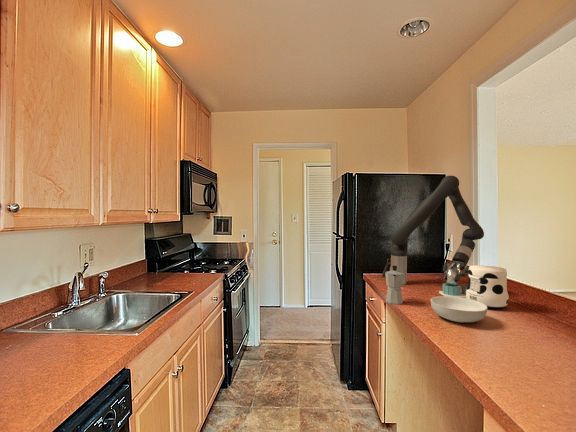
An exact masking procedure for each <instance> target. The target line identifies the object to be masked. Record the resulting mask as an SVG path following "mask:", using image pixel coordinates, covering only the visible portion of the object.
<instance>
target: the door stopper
mask: <svg viewBox="0 0 576 432" xmlns="http://www.w3.org/2000/svg"><path fill="white" fill-rule="evenodd" d="M388 266H390V267H391V258H387V259H386V265H385V267H384V269H383V272H382V274H381V278H386V275H385V272H388Z"/></svg>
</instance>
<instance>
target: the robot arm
mask: <svg viewBox="0 0 576 432" xmlns="http://www.w3.org/2000/svg"><path fill="white" fill-rule="evenodd" d="M459 187H460V180H459V178H458V177H457V176H455V175H447V176H445V177H443V178H442V179H441V181H440V183H439V184H438V186H437V187H436V188H435V190H434V191H433V192H431V194H429V195H428V196H427V197H425V198H424V199H423V200H422V201H421V202H420V203H419V204H418V205H417V206H416V207H415V208H414V210H413V211H411V213H410V214H409V215H408V217H407V218H406V219H405V220H404V222H403V223H402V224H401V225H399V226H398V227H397V228H396V229H395V230H394V231H392V232H391V235H390V240H391V251H390V259H391V260H390V262H391V266H390V267H389V271H392V270H393V268H392V266H397V271H399V272H402V273H404V277H403V284H402V286H403V285H406V284H407V277H408V276H407V275H408V274H407V273H408V272H407V270H408V269H407V268H408V264H407V263H408V249H409V248H408V247H409V246H408V245H409V241H408V240H409V237H410V235H412V233H413V232H414V231H416V229H417V228H418V227H420V226H421V225H423V224H424V223H425V222H426V221H427V220H429V218H430V217H431V216H432V215H433V214H434V213H435V211H437V209H438V208H439V207H440V205H441V204H442V203H443V201H445V200H446V199H447V198H449V200H450V202H451V204H452V207H453V209H454V211H455V214H456V216H457V217H458V220H459V223H460V224H461V226H465V227H468V228H466V229H465V230H464V231H463V232H462V235H461V243H460V244H459V245H458V248H457V249H456V251H455V253H454V255H453V256H452V259H451V261H450V262H449V263H448V262H446V261H445V262H444V264H443V268H442V272H443V273H444V275H443V276H442V277H443V279H444V281H447V268H455V269H457V275H456V276H455V278H454V281H455V282H457V283H458V282H459V280H460V279H461V278H462V277H463V278H465V277H466V276H467V275H469V267H470V265H468V264H469V262H470V259H471V257H472V255H473V252H474V251H475V250H474V249H475V248H476V243H475V241H476V240H482V239H484V236H485V232H484V229H483V228H482V227H481V225H480V223H478V222H477V220H476V219H475V218H474V216H473V214H472V211H471V210H470V208H469V206H468V204H467V203H466V201H465V199H464V198H463V195H462V193H461V191H460V188H459Z"/></svg>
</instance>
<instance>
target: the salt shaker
mask: <svg viewBox="0 0 576 432" xmlns="http://www.w3.org/2000/svg"><path fill="white" fill-rule="evenodd" d="M456 275H457V269H455V268H447V280H446V283H447V286H452V287H457V285H458V282H455V281H454V278H455V276H456Z"/></svg>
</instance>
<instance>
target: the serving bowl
mask: <svg viewBox="0 0 576 432" xmlns="http://www.w3.org/2000/svg"><path fill="white" fill-rule="evenodd" d="M430 304H431V308H432V310H433V311H434V312H435V313H436V314H437V315H438V316H440V317H442V318H444V319H446V320H448V321H451V322H455V323H464V324H465V323H466V324H467V323H475V322H479V321H481V320H483V319H484V318H485V317H486V315H487V313H488V309H489V308H487V306H486V305H484V304H483V303H480V302H478V301H474V300H471V299H466V298H461V297H452V296H443V295H440V296H433V297H432V298H430Z"/></svg>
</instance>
